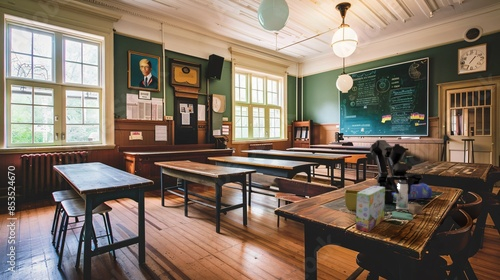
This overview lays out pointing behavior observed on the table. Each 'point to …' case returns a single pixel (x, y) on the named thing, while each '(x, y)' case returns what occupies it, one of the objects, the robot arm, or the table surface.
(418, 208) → the walnut block
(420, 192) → the pencil case
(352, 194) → the flower pot
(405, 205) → the bottle
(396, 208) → the chalk
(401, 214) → the mat
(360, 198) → the snack box
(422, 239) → the table surface
